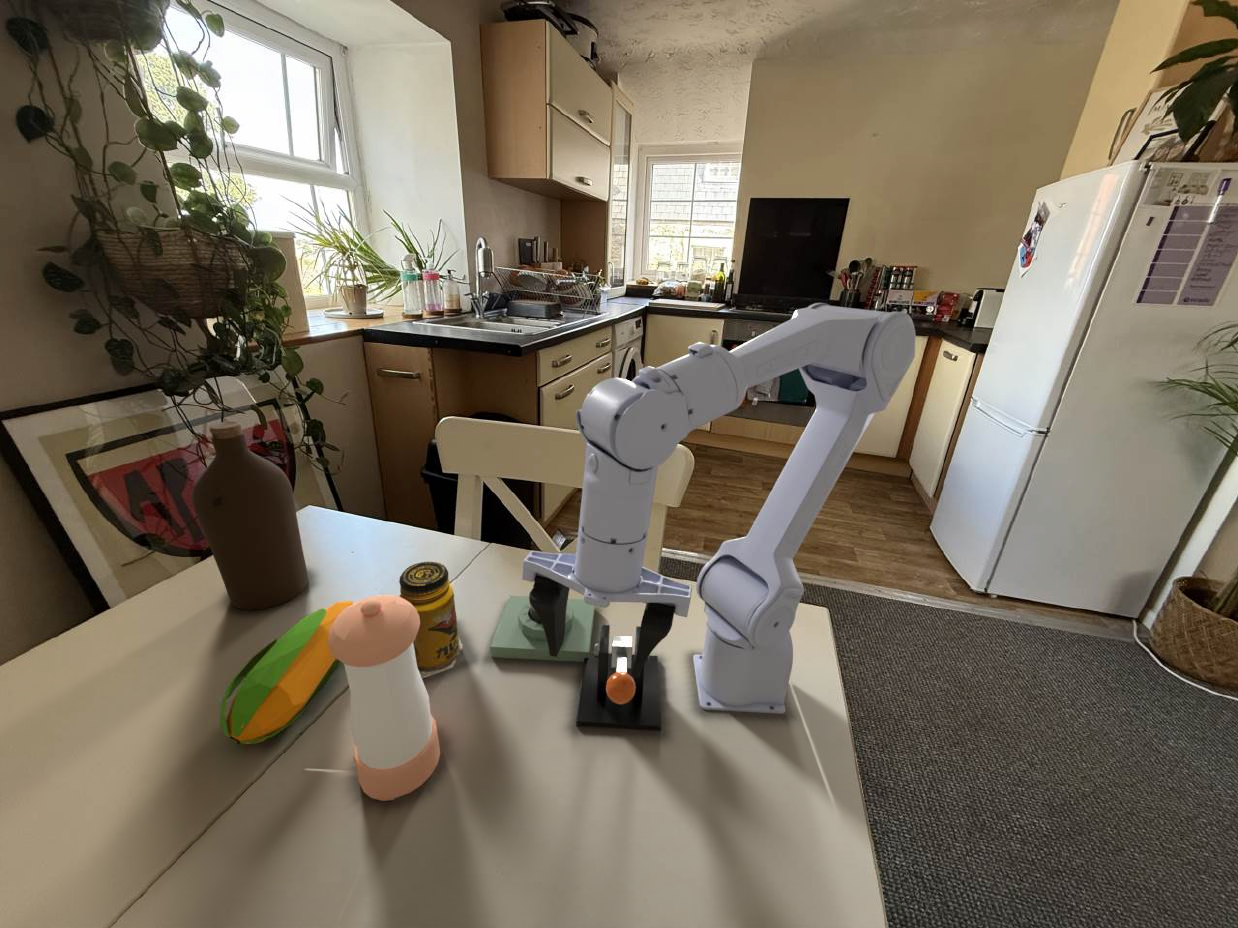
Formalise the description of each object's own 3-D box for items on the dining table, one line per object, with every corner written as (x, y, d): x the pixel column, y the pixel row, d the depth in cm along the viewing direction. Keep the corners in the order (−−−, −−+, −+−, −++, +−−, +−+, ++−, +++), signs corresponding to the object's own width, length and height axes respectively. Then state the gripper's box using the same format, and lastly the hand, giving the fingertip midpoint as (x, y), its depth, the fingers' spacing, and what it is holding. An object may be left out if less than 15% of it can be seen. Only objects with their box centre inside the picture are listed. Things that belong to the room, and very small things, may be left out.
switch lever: (635, 710, 45) (636, 681, 45) (604, 709, 45) (606, 679, 45) (633, 659, 56) (634, 635, 56) (609, 657, 56) (610, 633, 56)
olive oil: (318, 595, 71) (279, 429, 61) (226, 624, 65) (166, 445, 55) (308, 560, 78) (271, 408, 69) (224, 583, 72) (171, 420, 63)
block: (594, 610, 70) (595, 590, 69) (588, 664, 61) (588, 641, 59) (510, 606, 70) (509, 585, 69) (491, 658, 61) (489, 636, 60)
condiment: (470, 660, 61) (462, 579, 56) (396, 690, 56) (380, 604, 52) (452, 625, 66) (443, 548, 61) (384, 649, 62) (369, 568, 57)
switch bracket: (660, 732, 52) (666, 676, 49) (575, 727, 52) (576, 672, 49) (657, 661, 62) (661, 611, 59) (585, 657, 62) (585, 607, 59)
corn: (182, 702, 45) (315, 572, 63) (201, 760, 47) (322, 620, 66) (265, 711, 45) (373, 578, 63) (278, 768, 48) (378, 625, 66)
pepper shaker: (381, 728, 52) (350, 574, 44) (451, 732, 51) (431, 578, 44) (343, 798, 45) (298, 631, 37) (423, 803, 45) (394, 636, 37)
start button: (563, 604, 66) (563, 594, 65) (559, 625, 62) (559, 614, 62) (533, 603, 66) (533, 592, 66) (527, 623, 62) (527, 612, 62)
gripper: (511, 530, 38) (503, 670, 43) (698, 570, 36) (669, 713, 41) (543, 496, 45) (533, 620, 49) (702, 528, 43) (677, 655, 47)
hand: (596, 659), depth 45 cm, fingers open, 7 cm apart
